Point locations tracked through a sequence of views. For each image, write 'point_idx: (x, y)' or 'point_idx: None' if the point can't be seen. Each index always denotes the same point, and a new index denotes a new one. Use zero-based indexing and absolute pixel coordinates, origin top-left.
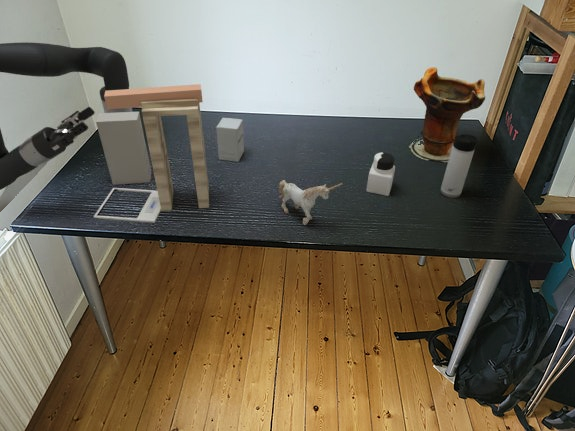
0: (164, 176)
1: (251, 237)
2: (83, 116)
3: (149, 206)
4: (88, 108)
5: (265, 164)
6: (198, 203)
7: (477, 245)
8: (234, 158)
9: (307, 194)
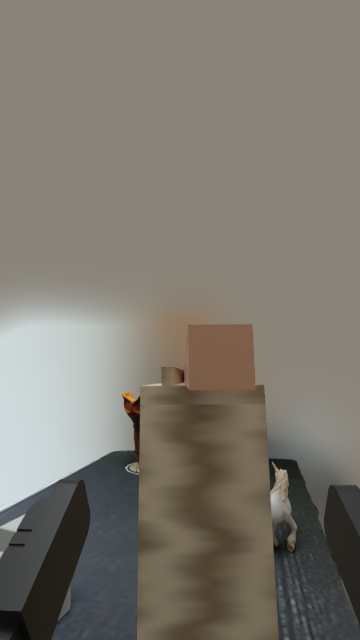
0: None
1: (350, 614)
2: (47, 609)
3: None
4: (80, 485)
5: (106, 571)
6: None
7: (296, 475)
8: (63, 606)
9: (286, 488)
